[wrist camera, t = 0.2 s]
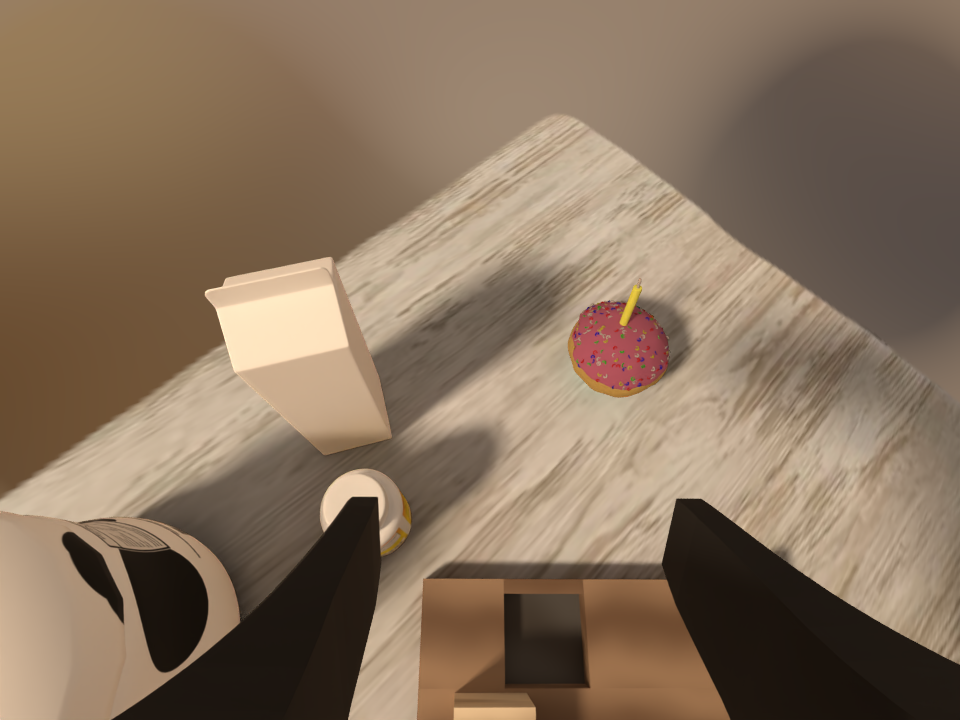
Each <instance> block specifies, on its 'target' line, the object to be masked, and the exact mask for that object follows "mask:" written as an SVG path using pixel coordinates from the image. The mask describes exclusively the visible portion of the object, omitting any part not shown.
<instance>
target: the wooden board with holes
mask: <svg viewBox="0 0 960 720" xmlns="http://www.w3.org/2000/svg"><path fill="white" fill-rule="evenodd" d="M455 693H527V694H528V696H529V697H530V699H531V701H532V702H533V704H534V706H535V707H536V720H730V717H729V715H728V713H727V711H726V708H725V706H724V704H723V702H722V699H721V697H720V695H719V693H718V691H717V689H716V687H715V685H714V683H713V681H712V679H711V677H710V675H709V673H708V671H707V669H706V667H705V665H704V663H703V661H702V659H701V657H700V655H699V653H698V651H697V648H696V646H695V644H694V642H693V640H692V638H691V636H690V634H689V632H688V630H687V628H686V626H685V624H684V622H683V620H682V617H681V615H680V613H679V611H678V609H677V607H676V605H675V602H674V599H673V596H672V593H671V590H670V588H669V585H668V582H667V580H638V579H423V599H422V622H421V644H420V667H419V689H418V712H417V720H454V696H455Z"/></svg>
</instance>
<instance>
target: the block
mask: <svg viewBox="0 0 960 720" xmlns="http://www.w3.org/2000/svg"><path fill="white" fill-rule="evenodd" d="M454 720H536V707H535V706H534V704H533V702H532V701H531V699H530V697H529V696H528V694H527V693H455V696H454Z"/></svg>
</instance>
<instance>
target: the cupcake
mask: <svg viewBox="0 0 960 720" xmlns="http://www.w3.org/2000/svg"><path fill="white" fill-rule="evenodd" d="M640 283H641V278H639V281H638V284H637V285H635V286H634V287H633V289H632V292H631V294H630V297H629V299H628V302H623V301H621V302H614V301H613V300H611V301H610V302H609V301H604V302H601V303H597V304H596V305H594V304H591V307H588V308H587V309H586V310H585V311H583V312H582V313H581V314H580V318H579V320H578V322H577V323H576V324H575V326H574V327H573V330H572V332H571V335H570V338H569V341H568V351H569V355H570V358H571V361H572V364H573V368H574V370H575V372H576V373H577V374H578V375H579V376H580V377H581V379H582V380H583V381H584V382H585V383H586V384H587V385H588V386H589V387H590V388H591V389H593V390H594V391H597V392H600V393H604V394H607V395H610V396H613V397H628V396H632V395H634V394H637V393H640V392H642V391H643V390H645V389H647V388H648V387H650V386H652V385H654V384H656V383H657V382H658V381H659V380H660V379H661V377H662V376H663V375H664V373H665V372H666V370H667V367H668V361H669V358H670V356H669V353H670V350H669V346H668V341H667V340H668V339H669V337H668V336H666V335H665V333H664V331H663V328H661V325H660V324H659V323H658V321H656V320H655V319H654V316H653V315H651V314H650V313H649V314H650V315H649V314H648V313H647V312H645V310H643V309H642V308H640V307H638V306H635V305H636V303H637V300H638V298H639V295H640V293H641V291H642V287H641V286H640ZM652 316H653V317H652ZM666 337H668V339H667V338H666Z"/></svg>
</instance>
